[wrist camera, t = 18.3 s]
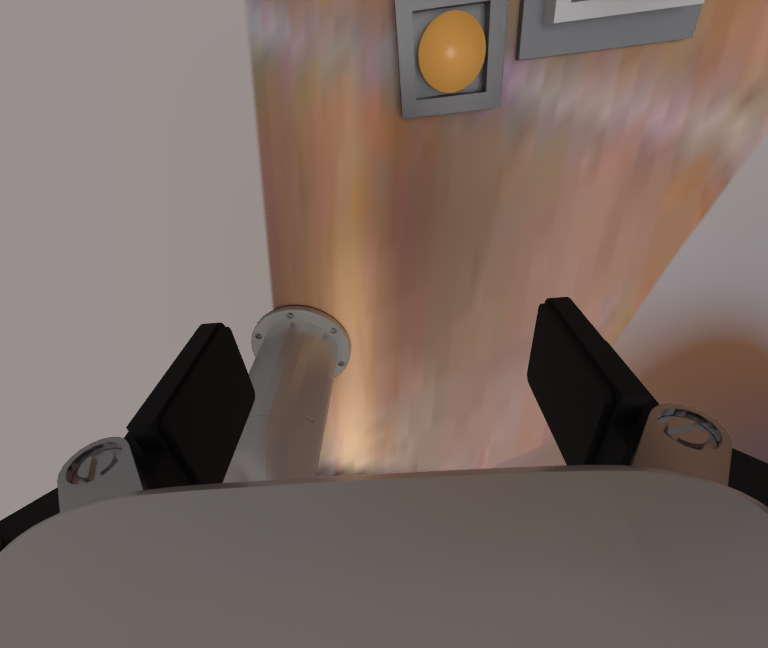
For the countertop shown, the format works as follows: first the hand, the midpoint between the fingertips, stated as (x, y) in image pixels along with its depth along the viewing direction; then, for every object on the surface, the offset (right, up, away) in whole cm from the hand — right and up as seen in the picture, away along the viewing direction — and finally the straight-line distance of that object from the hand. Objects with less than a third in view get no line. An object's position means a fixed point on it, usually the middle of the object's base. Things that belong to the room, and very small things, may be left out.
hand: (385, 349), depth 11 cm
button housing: (+5, +23, +19) cm, 30 cm away
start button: (+5, +22, +18) cm, 29 cm away
